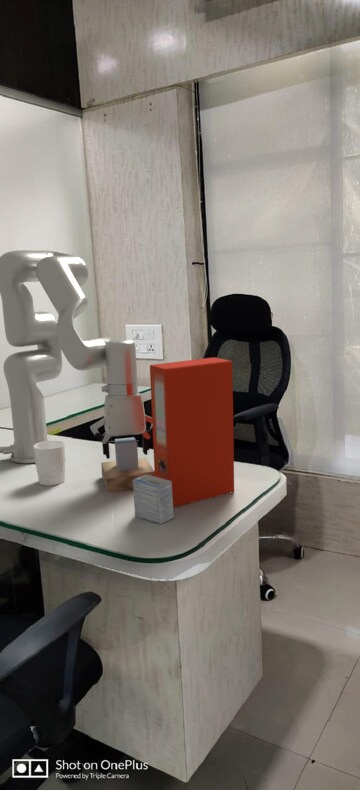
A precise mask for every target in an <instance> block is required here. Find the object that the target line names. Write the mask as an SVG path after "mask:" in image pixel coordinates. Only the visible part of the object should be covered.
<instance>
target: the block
mask: <svg viewBox="0 0 360 790" xmlns="http://www.w3.org/2000/svg"><path fill="white" fill-rule="evenodd" d="M114 449H115V450H114V451H115V452H114V453H115V461H116V466H117V468H118V470H119V471H125V470H134V469H139V468H138V459H139V455H138V441H137V440H136V438H135V437H133V436H131V437H125V438H115V439H114Z"/></svg>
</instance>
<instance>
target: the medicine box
mask: <svg viewBox="0 0 360 790" xmlns="http://www.w3.org/2000/svg"><path fill="white" fill-rule="evenodd" d="M132 490H133V501H134V504H133V505H134V516H135V517H138V518H141V519H144V520H146V521H150V522H154V523H156V524H159V525H163V524H164V523H167V522H168V521H170V520H172V519H174V517H175V516H174V515H175V514H174V507H173V497H172V482H171V481H169V480H166V479H162V478H158V477H154V476H150V475H144V476H141V477H138V478H136V479H134V480H133V489H132Z"/></svg>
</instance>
